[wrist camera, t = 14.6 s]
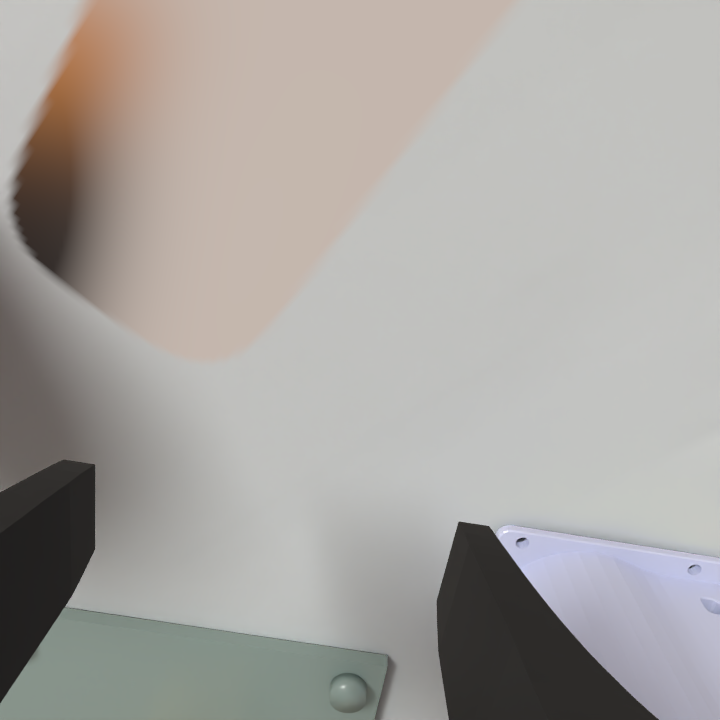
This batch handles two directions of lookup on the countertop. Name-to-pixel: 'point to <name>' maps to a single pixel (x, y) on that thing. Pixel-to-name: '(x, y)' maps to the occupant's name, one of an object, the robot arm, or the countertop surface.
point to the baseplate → (187, 675)
